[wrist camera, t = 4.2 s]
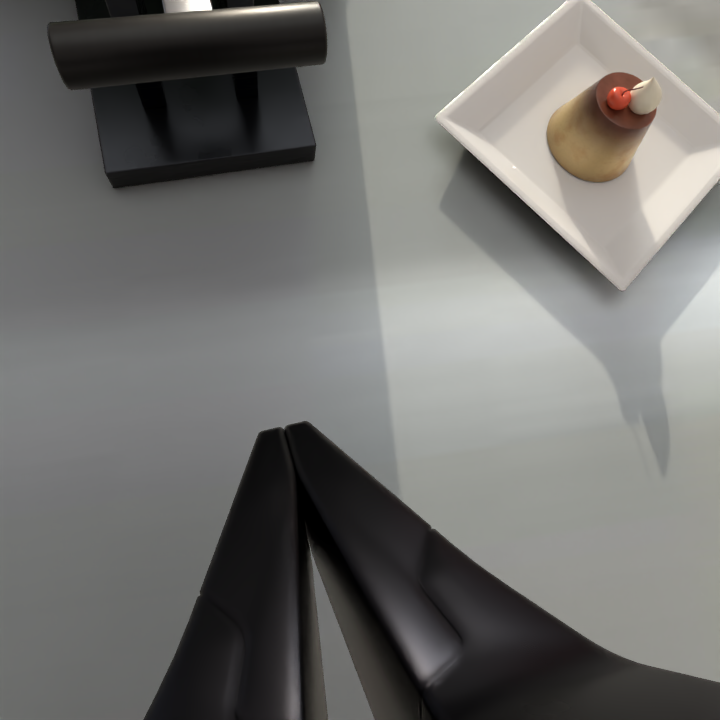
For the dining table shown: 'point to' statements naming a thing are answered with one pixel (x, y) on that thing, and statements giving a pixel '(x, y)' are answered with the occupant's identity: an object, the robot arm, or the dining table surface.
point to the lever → (187, 43)
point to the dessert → (592, 137)
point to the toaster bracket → (197, 116)
